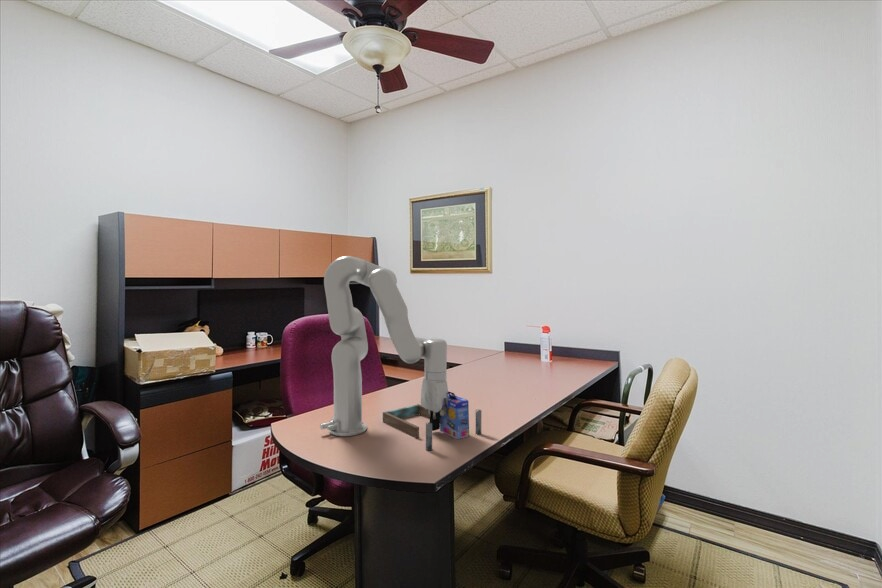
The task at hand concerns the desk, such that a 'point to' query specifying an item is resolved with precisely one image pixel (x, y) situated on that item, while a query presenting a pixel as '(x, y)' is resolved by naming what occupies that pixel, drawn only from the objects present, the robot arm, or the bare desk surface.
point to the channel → (396, 420)
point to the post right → (478, 422)
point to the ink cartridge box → (456, 417)
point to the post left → (428, 436)
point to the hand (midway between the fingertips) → (434, 429)
